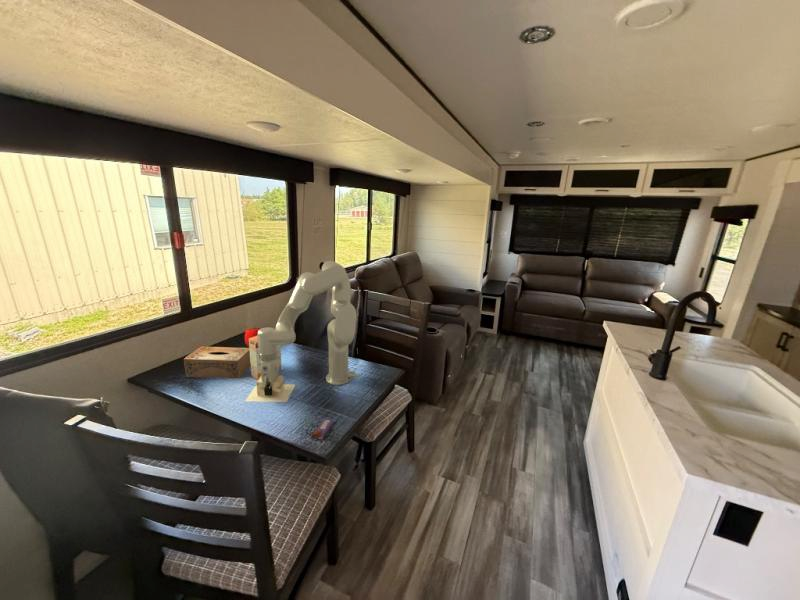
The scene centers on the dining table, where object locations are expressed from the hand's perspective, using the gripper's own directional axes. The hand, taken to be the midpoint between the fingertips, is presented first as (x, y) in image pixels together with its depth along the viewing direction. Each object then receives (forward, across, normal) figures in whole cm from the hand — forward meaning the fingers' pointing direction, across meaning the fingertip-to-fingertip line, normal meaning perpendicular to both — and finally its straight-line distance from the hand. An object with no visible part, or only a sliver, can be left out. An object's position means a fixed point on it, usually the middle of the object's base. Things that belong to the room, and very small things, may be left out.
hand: (271, 390), depth 140 cm
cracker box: (+1, +18, +8) cm, 20 cm away
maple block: (+1, 0, 0) cm, 1 cm away
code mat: (+1, 0, 0) cm, 1 cm away
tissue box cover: (+2, +20, +32) cm, 38 cm away
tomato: (+1, +48, +25) cm, 54 cm away
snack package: (+2, -25, -28) cm, 38 cm away
